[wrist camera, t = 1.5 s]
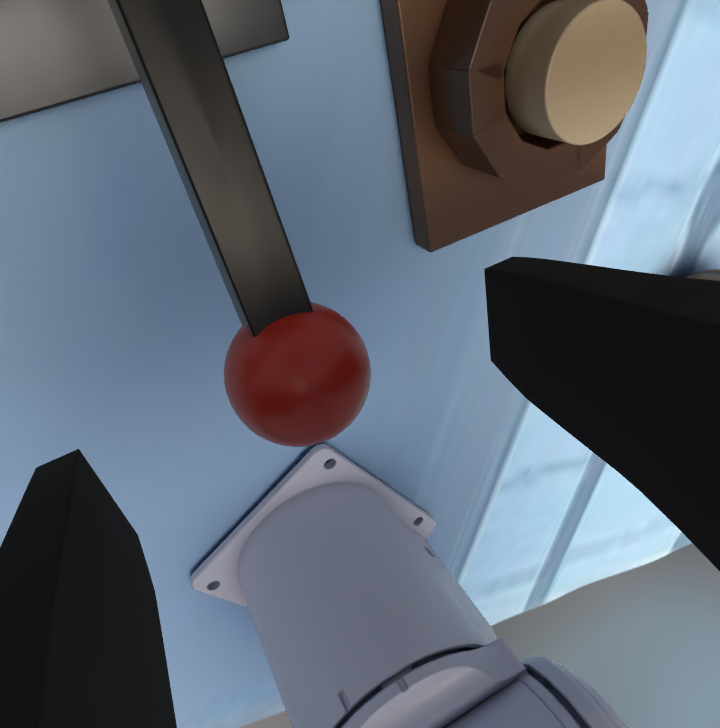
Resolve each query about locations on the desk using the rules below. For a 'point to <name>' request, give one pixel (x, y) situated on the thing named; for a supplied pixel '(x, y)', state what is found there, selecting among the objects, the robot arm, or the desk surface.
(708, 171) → the desk surface
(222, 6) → the black lever base
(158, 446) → the desk surface
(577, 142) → the button
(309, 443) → the red knob lever
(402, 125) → the control block
